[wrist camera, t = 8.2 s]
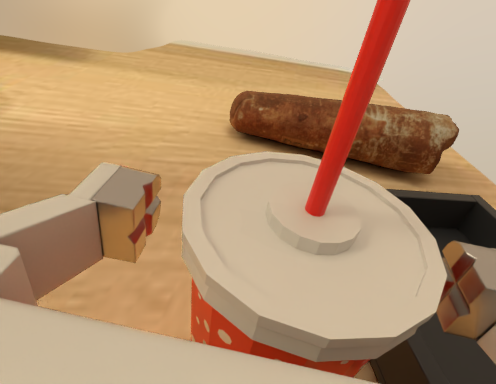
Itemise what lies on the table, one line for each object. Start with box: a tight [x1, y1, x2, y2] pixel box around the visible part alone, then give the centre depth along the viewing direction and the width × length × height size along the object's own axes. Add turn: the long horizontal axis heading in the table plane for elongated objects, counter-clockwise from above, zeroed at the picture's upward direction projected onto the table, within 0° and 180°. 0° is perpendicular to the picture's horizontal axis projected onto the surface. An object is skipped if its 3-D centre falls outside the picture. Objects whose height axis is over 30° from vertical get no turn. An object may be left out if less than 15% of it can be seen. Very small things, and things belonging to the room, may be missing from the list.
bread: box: [230, 91, 459, 174], centre depth 30 cm, size 6×19×6 cm, turn 80°
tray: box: [370, 189, 496, 384], centre depth 16 cm, size 12×17×3 cm
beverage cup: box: [182, 0, 447, 378], centre depth 9 cm, size 6×6×14 cm
